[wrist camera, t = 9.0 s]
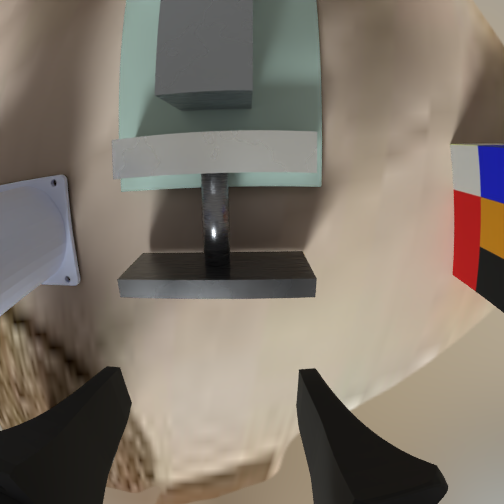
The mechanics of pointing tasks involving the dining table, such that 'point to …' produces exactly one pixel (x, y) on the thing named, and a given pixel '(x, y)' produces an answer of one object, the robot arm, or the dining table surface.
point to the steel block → (205, 54)
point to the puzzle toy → (479, 218)
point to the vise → (258, 118)
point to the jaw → (217, 214)
